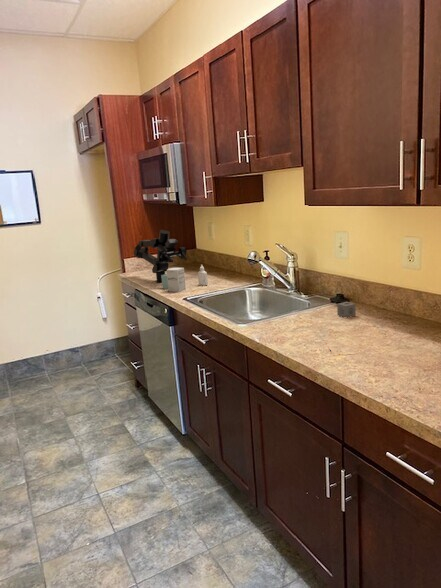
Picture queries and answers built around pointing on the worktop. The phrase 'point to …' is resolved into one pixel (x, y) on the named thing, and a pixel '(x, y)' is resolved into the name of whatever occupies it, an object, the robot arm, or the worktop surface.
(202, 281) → the eye dropper bottle
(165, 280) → the teal block
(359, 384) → the worktop surface
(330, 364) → the worktop surface
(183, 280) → the supplement box
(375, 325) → the worktop surface
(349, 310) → the dice cube
